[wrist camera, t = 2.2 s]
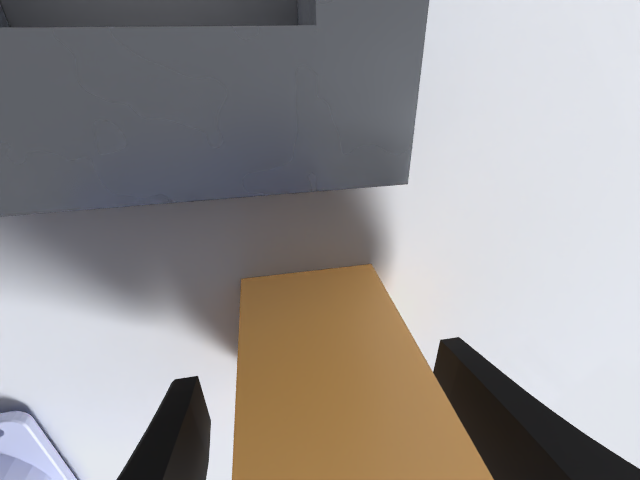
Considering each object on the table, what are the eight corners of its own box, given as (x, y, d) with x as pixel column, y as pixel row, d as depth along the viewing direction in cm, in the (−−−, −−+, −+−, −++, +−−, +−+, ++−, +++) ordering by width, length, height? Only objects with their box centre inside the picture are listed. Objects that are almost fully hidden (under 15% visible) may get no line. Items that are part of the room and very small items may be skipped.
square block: (256, 370, 13) (259, 641, 7) (241, 278, 11) (228, 553, 5) (364, 353, 14) (453, 589, 8) (371, 263, 12) (501, 492, 6)
